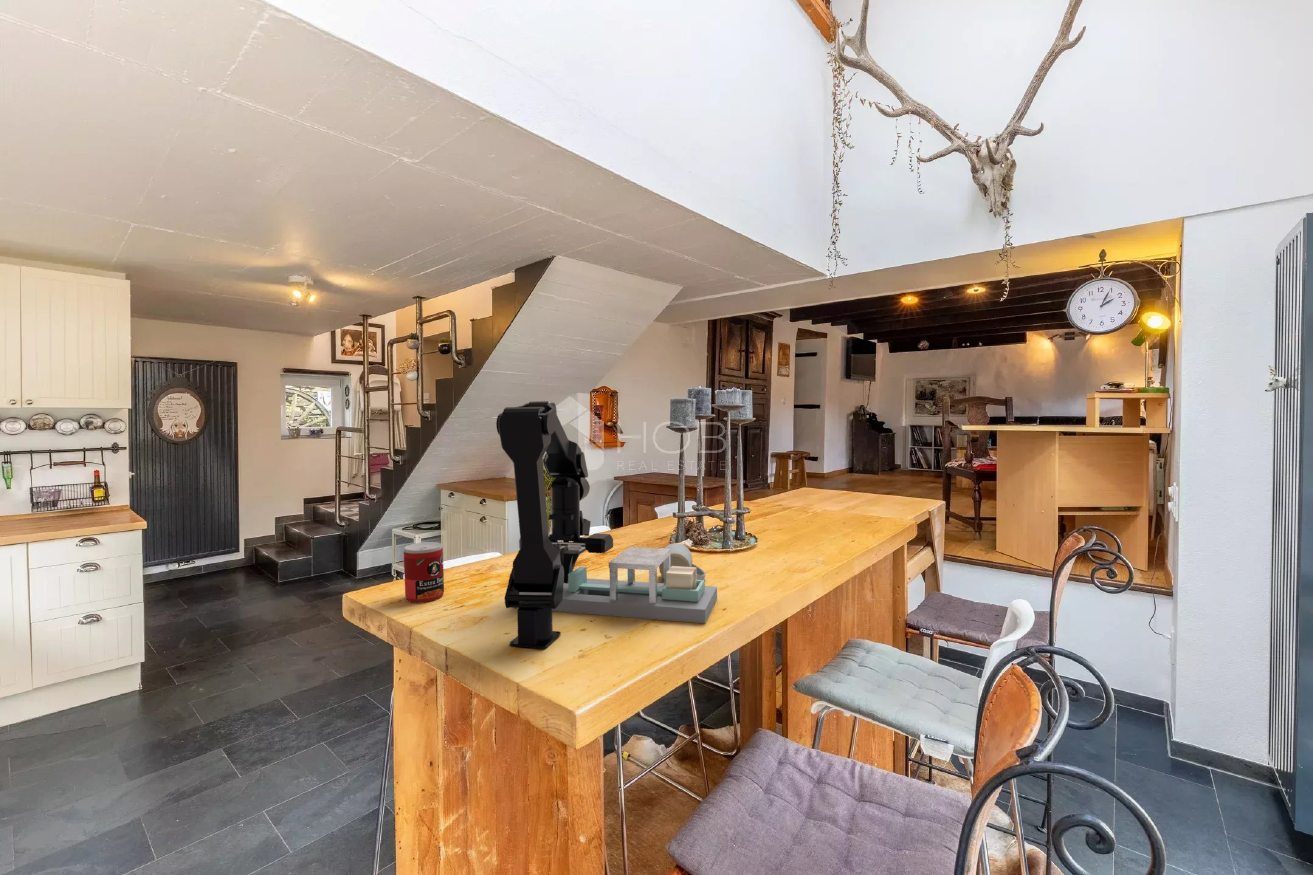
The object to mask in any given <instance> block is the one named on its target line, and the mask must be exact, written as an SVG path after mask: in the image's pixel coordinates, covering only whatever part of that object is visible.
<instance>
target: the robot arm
mask: <svg viewBox="0 0 1313 875" xmlns="http://www.w3.org/2000/svg"><path fill="white" fill-rule="evenodd" d="M495 423H496V424H495V425H496V431H497V434H498V435H499V439H500V446H501V448H502V450H503V451H504V452H505V454H506V455H507V457H508V458H509V460H510V461H511V462H512V464H513V471H514V482H515V494H516V503H517V504H516V505H517V516H518V527H519V539H518V548H519V550H518V552H517V554H516V556H515V557H514V559H513V561H512V568H511V571H510V573H509V578H508V582H507V587H506V590H505V594H504V604H505V608H506V609H512V608H513V609H517V610H516V615H517V616H516V618H517V619H516V620H517V636H516V637H515V638H513V639H512V640H511V641H509V646H511V647H519V648H520V647H521V648H531V649H539V650H541V649H542V650H543V649H544V650H545V649H546V648H548V646H549V647H550V645H551V644H552V643H553V642H554V641H555V640H557V639H558V638H559V637H560V636H561V634H562V632H561V631H559V630H553V628H554V627H553V611H552V609H556V608H557V606H558V605H559V604H560V603H561V601H562V599H563V585H564V583H568V574H569V573H571V572H572V571H574V570H575V565H576V563H577V561H578V558H579V557H580V556H581V554H583V553H584V552H586V551H587V552H588V553H589V554H605V553H606V552H609V551H610V550H611V549H612V548H614V538H613V536H612V535H611V534H610V533H593V534H591V535H590V531H591V520H589V519H587V518H584V516H583V515H584V514H583V510H581V509H580V508H581V507H580V504H581V503H580V502H581V501H582V500H584V499H585V498H587V496H588V495H589V493H590V488H591V486H590V483H589V481H588V480H587V478H589V472H588V467H587V463H586V461H587V460H586V456H585V453H584V451H582V449H581V447H580V446H579V444H578V443H577V442H575V441H572V440H570V439H569V438H568V436H567V434H566V432H565V430H564V428H563V426H562V424H561V421H560V419H559V416H558V414H557V406H556V403H555V402H552V401H550V400H548V401H547V400H546V401H545V400H544V401H543V400H542V401H538V400H537V401H529V402H526V403H524V404H523V405H519V406H510V407H509V406H508V407H507V406H506V407H505V408H504V409H503V410H502V412H501V413H499V414H498V415H497V418H496V422H495ZM544 468H545V470H546V474H547V475H548V476H549V477H550V479H553V480H552V482H551V484H550V488H551V490H550V491H551V492H550V493H551V496H550V497H551V499H550V500H551V513H549V514H548V511H547V500H546V499H547V498H546V487H545V486H546V485H545V473H544ZM548 520H551V533H550V534H549V524H548ZM583 536H584V537H583ZM519 592H535V593H552V595H519Z"/></svg>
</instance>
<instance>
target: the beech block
mask: <svg viewBox="0 0 1313 875" xmlns="http://www.w3.org/2000/svg"><path fill="white" fill-rule="evenodd" d="M666 588H674V589H689V590H696V588H697V567H679V566H672V567H671V568H670V569H669V570H668V571H667V572H666Z"/></svg>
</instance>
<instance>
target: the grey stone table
mask: <svg viewBox="0 0 1313 875" xmlns="http://www.w3.org/2000/svg"><path fill="white" fill-rule="evenodd" d="M670 554H671V549H664V548H659V547H643V546H642V547H641V546H640V547H639V546H638V547H637V546H628V548H626V549H625V550H623V551H622V552H621V553H619V554H618V555H617V556H616V557H614V558H613V559H611V560H610V561H609V562H608V569H609V580H610V601H617V600H618V579H619V576H618V575H619V573H618V569H622V570H623V569H625V570H626V569H627V581H628V584H634V583H635V582H636V573H635V572H636V570H640V571H641V570H643V571H648V582H649V604H656V603H657V583H658V568H659V565H660V564H661V563H662V562H663V563H664V578H663V583H664V586H665V584H666V572H667V571H668V570H669V569H670V568H671V560H670Z"/></svg>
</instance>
